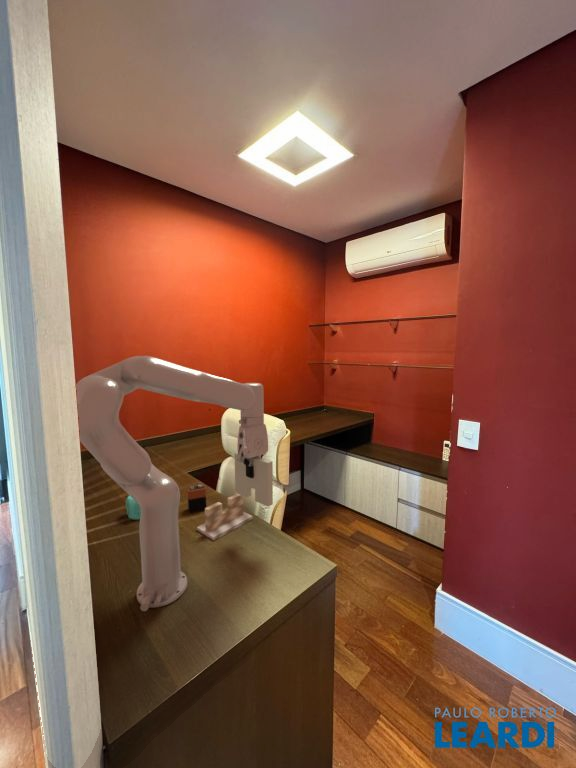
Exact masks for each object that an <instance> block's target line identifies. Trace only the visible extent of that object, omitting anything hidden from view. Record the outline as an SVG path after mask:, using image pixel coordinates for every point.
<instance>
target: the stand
mask: <svg viewBox="0 0 576 768" xmlns="http://www.w3.org/2000/svg"><path fill="white" fill-rule="evenodd" d="M204 517H205V518H204V520H205V522H204V523H203V524H201V525H198V526H196V531H197V532H199V533H201V534H202V535H204V536H205V537H207V538H208V539H210V540H211V541H216V540H217V539H219V538H221V537H223V536H225V535H227V534H228V533H231V532H233V531H234V530H236V529H237V528H239V527H241V526H243V525H245V524H246V523H248V522H250V521H252V520H254V516H253V515H251V514H249V513H247V512H245V510H244V496H242V495H240V494H238V493H235V494H234V495H231V496H229V497H227V508H225V509H223V503H222V502H220V501H217V502H215V503H213V504H210V505H208V506H206V508H205V510H204Z"/></svg>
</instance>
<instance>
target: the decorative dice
mask: <svg viewBox="0 0 576 768" xmlns="http://www.w3.org/2000/svg"><path fill="white" fill-rule="evenodd" d="M125 509H126V515H127V516H128V518H129V519H130V520H135V521H137V520H140V516H141V510H140V506H139V505H138V504H137V503H136V501H135V500H134V499H133V498H132V497H131V496H130V495H129V494H128V496H127V498H126V499H125Z"/></svg>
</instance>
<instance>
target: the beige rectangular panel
mask: <svg viewBox="0 0 576 768" xmlns="http://www.w3.org/2000/svg"><path fill="white" fill-rule="evenodd" d="M237 458H238V451H236V452H234V493H235V494H240V495H242V496H243V497H245V498H249V497H251V496H252V489H254V501H255V502H256V503H259V504H261V505H263V506H266V507H270V506H272V505H273V503H274V502H273V501H274V500H273V498H274V497H273V487H274V486H273V474H274V473H273V471H274V470H273V467H274V466H273V461H272V460H269V459H266V458H263V457H262V458H259V457H254V458H252V466H254V478H249V477H247V476H246V465H244V463H243V462H239V461H237ZM243 458H244V457H243Z"/></svg>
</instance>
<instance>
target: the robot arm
mask: <svg viewBox="0 0 576 768" xmlns="http://www.w3.org/2000/svg"><path fill="white" fill-rule="evenodd" d="M75 386H76V390H77V403H76V404H77V406H78V417H79V430H80V440H79V441H80V443H81V444H82V445H83V447H84V448H86V450H87V451H88V452H89V453H90V454H91V455H92V456H93V457H94V458H95V459H96V461H97V462H98V463H99V464H100V466H101V469H102V470H103V471H104V472H105V473H106V474H107V475H108V476H109V477H110V478H111V479H112V480H113V481H114V482H115V483H116V484H117V485H118V486H119V487H120V488H121V489H122V490H123V491H124V492H125V493H127V494H128V496H129V495H130V496H131V497H132V498H133V499H134V500H135V501H136V503H137V504H138V505H139V506H140V510H141V516H140V519H139V524H138V526H139V527H138V529H139V531H138V532H139V536H138V537H139V549H140V562H141V563H140V565H141V580H142V582H141V583H140V584H139V585H138V588H137V590H136V600H137V602H138V603H139V604H140V607H139V609H140V610H141V611H142V612H146V611H148V610H149V608H160V607H164V606H166V605H167V606H168V605H169V604H171V603H174V602H175V601H176V600H177V599H179V598H180V597H181V596H182V595H183V594H184V593H185V591H186V589H187V587H188V578H187V577H188V576H187V575H186V574H185V573H184V572H183V571H182V570H181V567H182V566H181V549H180V530H179V511H180V510H179V509H180V508H179V507H180V500H181V493H180V492H181V491H180V488H179V485H178V484H177V482H176V481H175V480H174V479H173V478H172V477H171V476H169V475H167V474H166V473H164V472H162V471H161V470H159V469H158V468H157V467H156V466H155V465H154V464H153V463H152V460H151V457H150V455H149V453H148V452H147V451H146V450H145V449H144V448H143V447H142V446H141V445H139V443H138V442H137V441H136V439H134V438H133V437H132V436H131V435H130V434H129V432H128V431H127V430H126V428H125V427H124V426H123V425H122V423H121V421H120V410H121V407H122V405H123V403H124V397H125V396H127V395H128V394H130V393H132V392H134V391H135V390H138V389H141V390H144V391H148V392H153V393H156V394H157V393H158V394H161V395H166V396H170V397H175V398H179V399H182V400H186V401H190V402H191V401H192V402H198V403H207V404H211V405H212V404H213V405H218V406H220V407H223V408H227V409H234V410H238V411H240V412H239V413H240V419H239V420H238V423H239V424H240V425H239V429H238V434H237V446H236V447H237V449H236V450H237V452H238V458H237V461H239V462H243V463H244V465H246V476H247V477H249V478H254V466H252V458H254V457H259V458H263V457H264V456H265V455H267V453H268V451H269V436H268V430H267V426H266V423H265V422H264V421H265V416H264V415H265V412H264V411H265V408H264V407H265V406H264V405H265V404H264V403H265V402H264V401H265V399H264V394H265V393H264V385H263V384H262V383H260V382H246V383H242V382H237V381H235V380H232V379H228V378H224V377H220V376H217V375H213V374H210V373H207V372H204V371H200V370H197V369H194V368H191V367H187V366H183V365H180V364H177V363H174V362H171V361H168V360H165V359H160V358H159V357H155V356H150V355H136V356H135V355H134V356H131V357H128V358H125V359H123V360H122V361H119V362H117V363H115V364H112V365H110V366H108V367H105V368H103V369H101V370H98V371H95V372H94V373H91V374H89V375H87V376H85V377H83V378H81V379H80V380H79V381H78V382H76V384H75ZM243 457H244V458H243Z"/></svg>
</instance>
